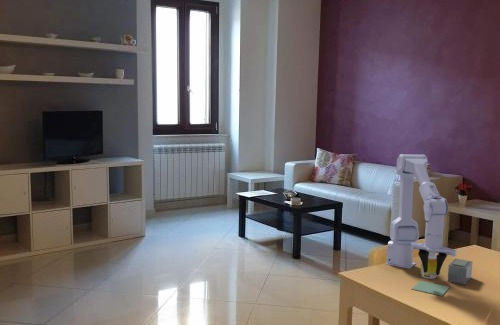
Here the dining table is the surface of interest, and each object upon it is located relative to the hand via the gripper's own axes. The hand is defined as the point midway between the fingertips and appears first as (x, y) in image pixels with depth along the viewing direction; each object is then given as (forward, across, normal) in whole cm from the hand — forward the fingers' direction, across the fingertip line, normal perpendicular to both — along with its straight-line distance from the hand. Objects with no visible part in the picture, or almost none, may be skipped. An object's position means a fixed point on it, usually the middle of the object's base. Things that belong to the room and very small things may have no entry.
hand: (431, 273), depth 172 cm
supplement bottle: (+6, -4, +12) cm, 14 cm away
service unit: (+5, +6, +16) cm, 18 cm away
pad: (+5, 0, 0) cm, 5 cm away
